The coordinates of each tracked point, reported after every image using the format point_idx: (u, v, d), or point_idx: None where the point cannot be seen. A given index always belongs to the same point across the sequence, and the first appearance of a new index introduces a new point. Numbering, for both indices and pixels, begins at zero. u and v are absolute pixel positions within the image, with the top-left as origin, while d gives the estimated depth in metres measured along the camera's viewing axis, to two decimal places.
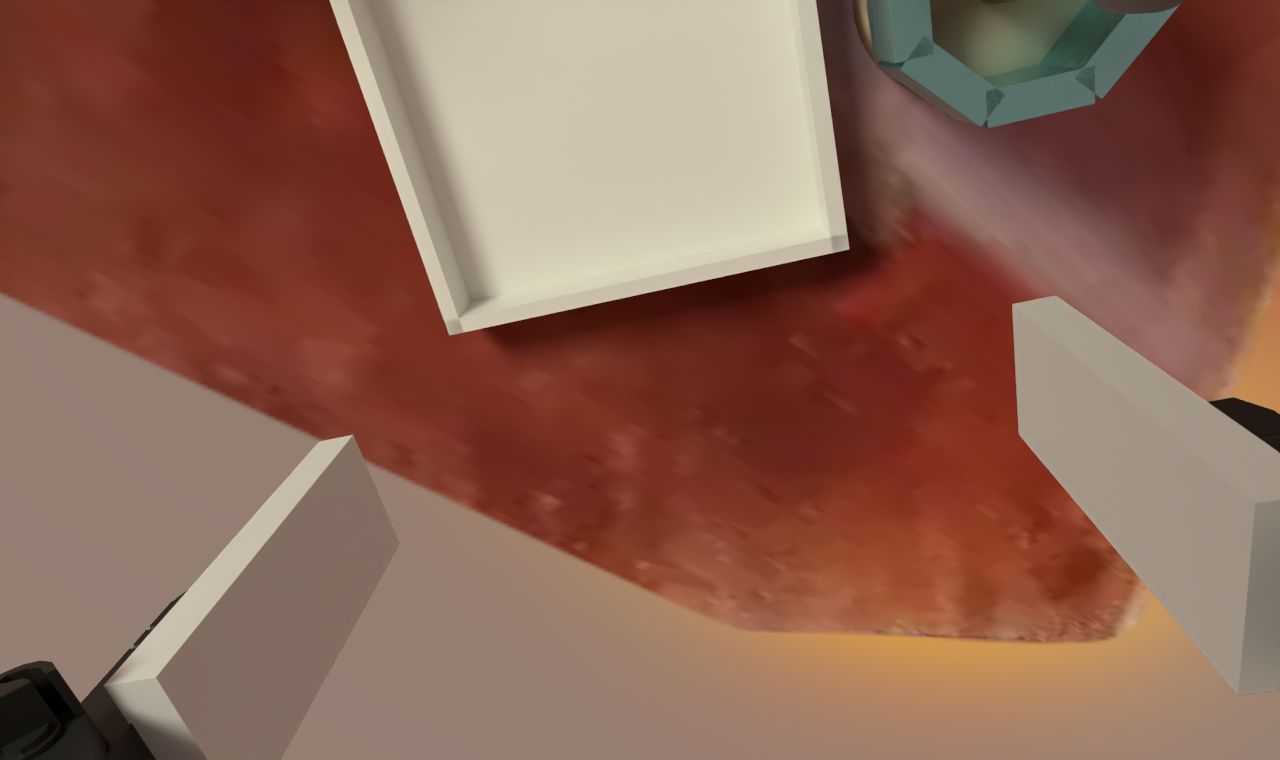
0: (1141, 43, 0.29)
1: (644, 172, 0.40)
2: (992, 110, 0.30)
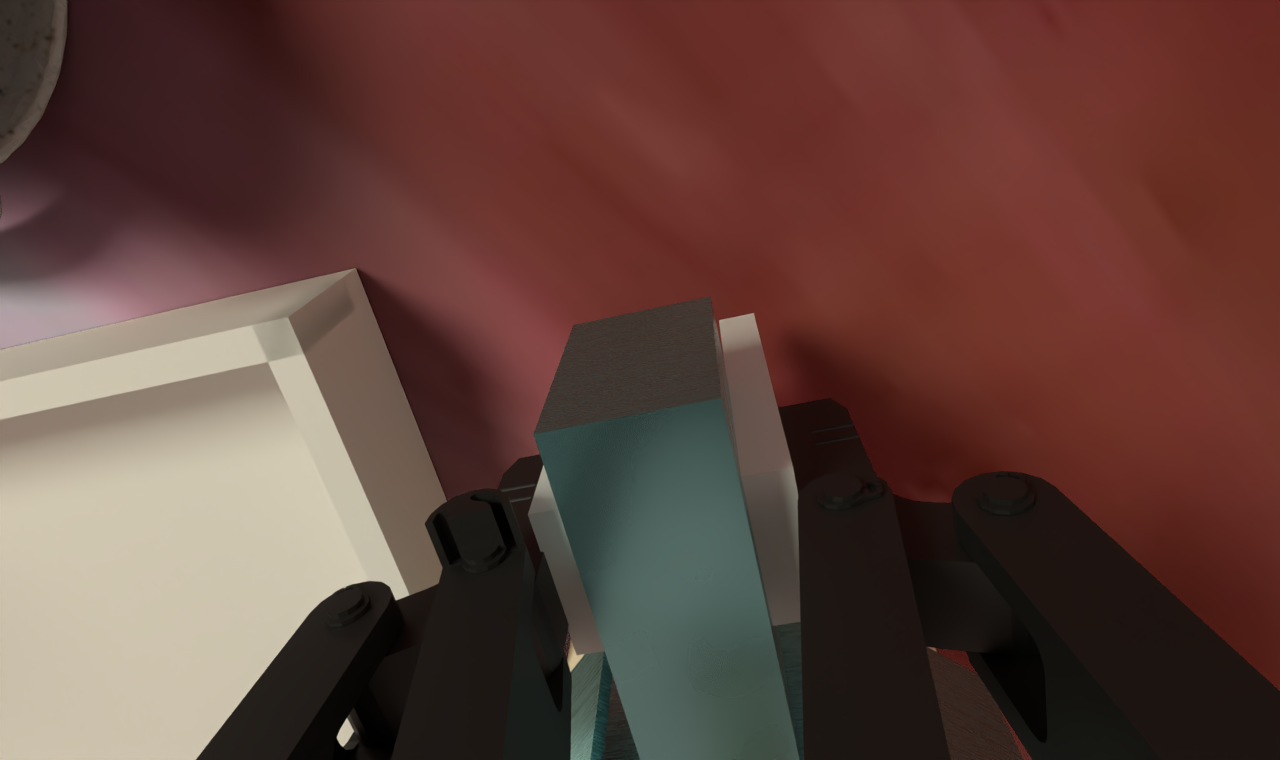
0: None
1: None
2: None
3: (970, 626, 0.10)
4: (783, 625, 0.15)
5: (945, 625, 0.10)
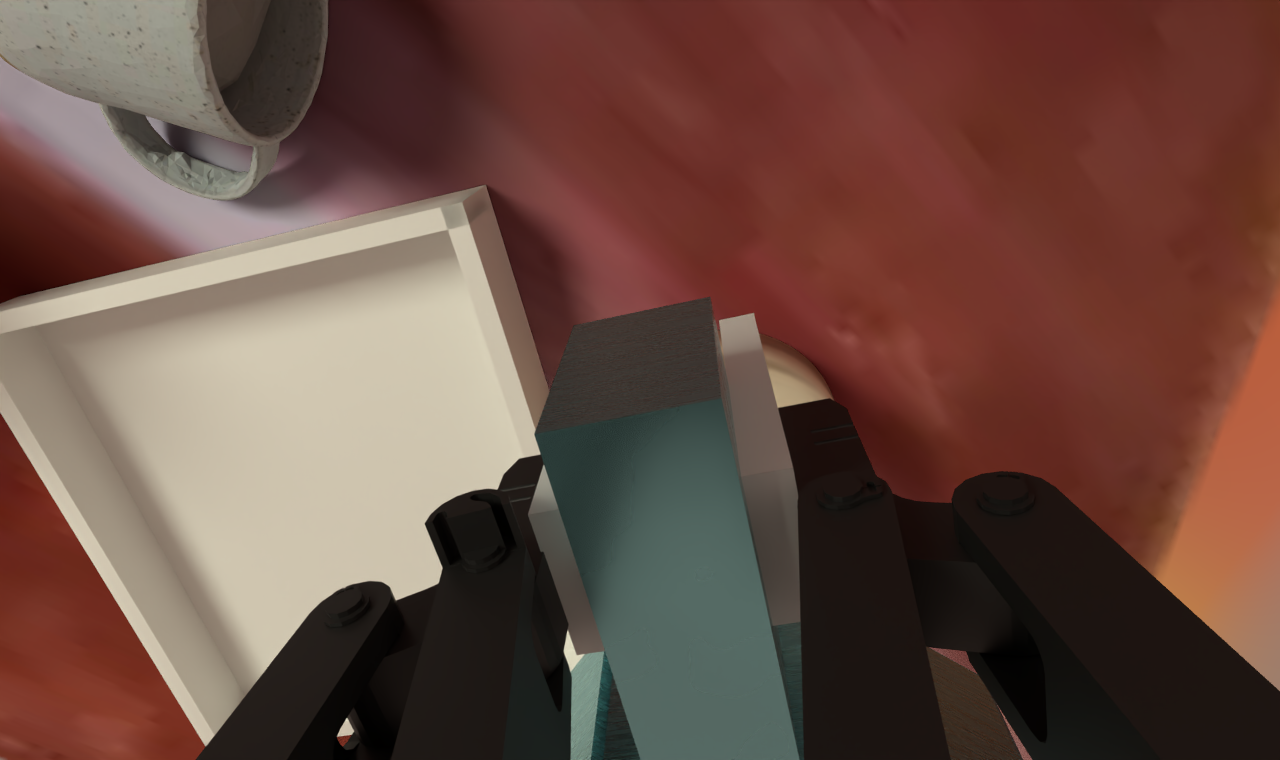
0: None
1: None
2: None
3: (970, 626, 0.10)
4: (783, 625, 0.15)
5: (944, 624, 0.10)
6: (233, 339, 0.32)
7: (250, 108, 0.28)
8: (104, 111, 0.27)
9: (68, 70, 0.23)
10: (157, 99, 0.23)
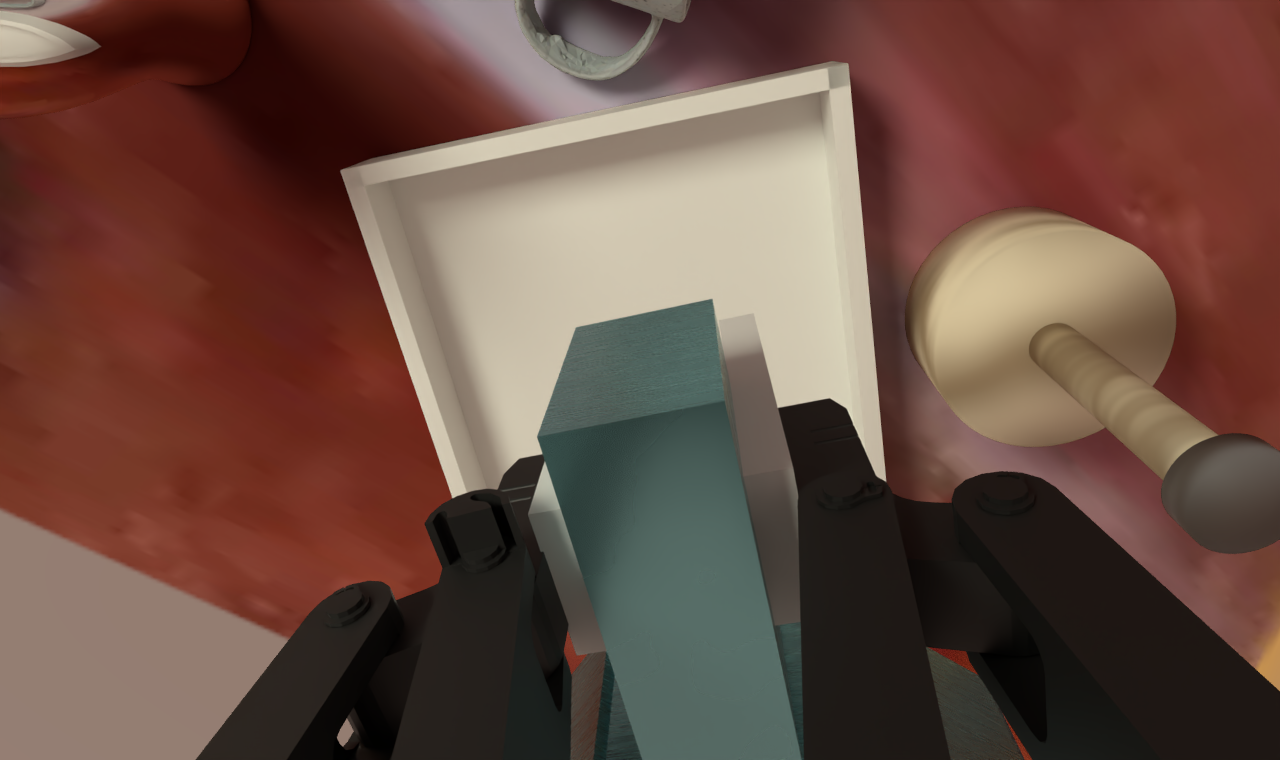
0: None
1: None
2: None
3: (970, 626, 0.10)
4: (785, 627, 0.15)
5: (944, 624, 0.10)
6: (574, 202, 0.35)
7: None
8: None
9: None
10: None
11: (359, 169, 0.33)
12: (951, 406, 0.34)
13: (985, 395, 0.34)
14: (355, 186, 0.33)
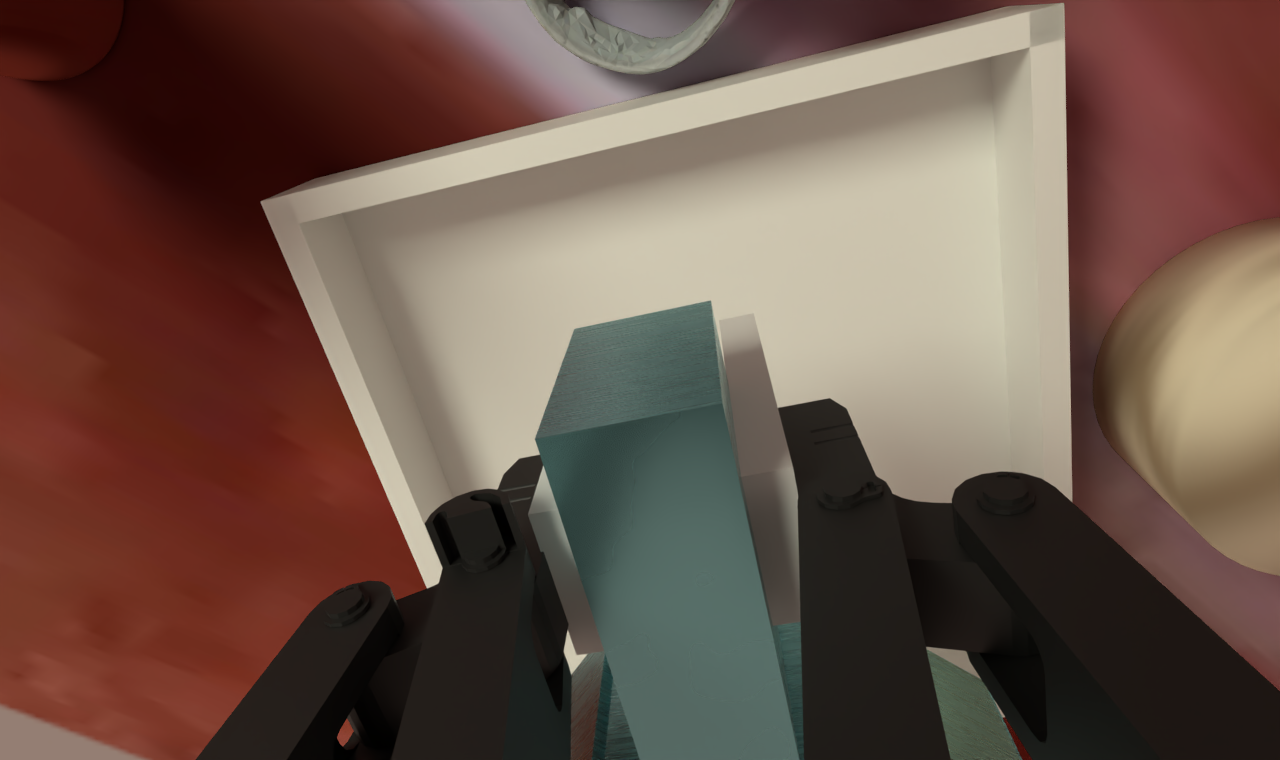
0: None
1: None
2: None
3: (970, 626, 0.10)
4: (783, 628, 0.15)
5: (944, 624, 0.10)
6: (615, 232, 0.24)
7: None
8: None
9: None
10: None
11: (288, 198, 0.21)
12: (1196, 524, 0.22)
13: (1251, 509, 0.22)
14: (285, 225, 0.22)
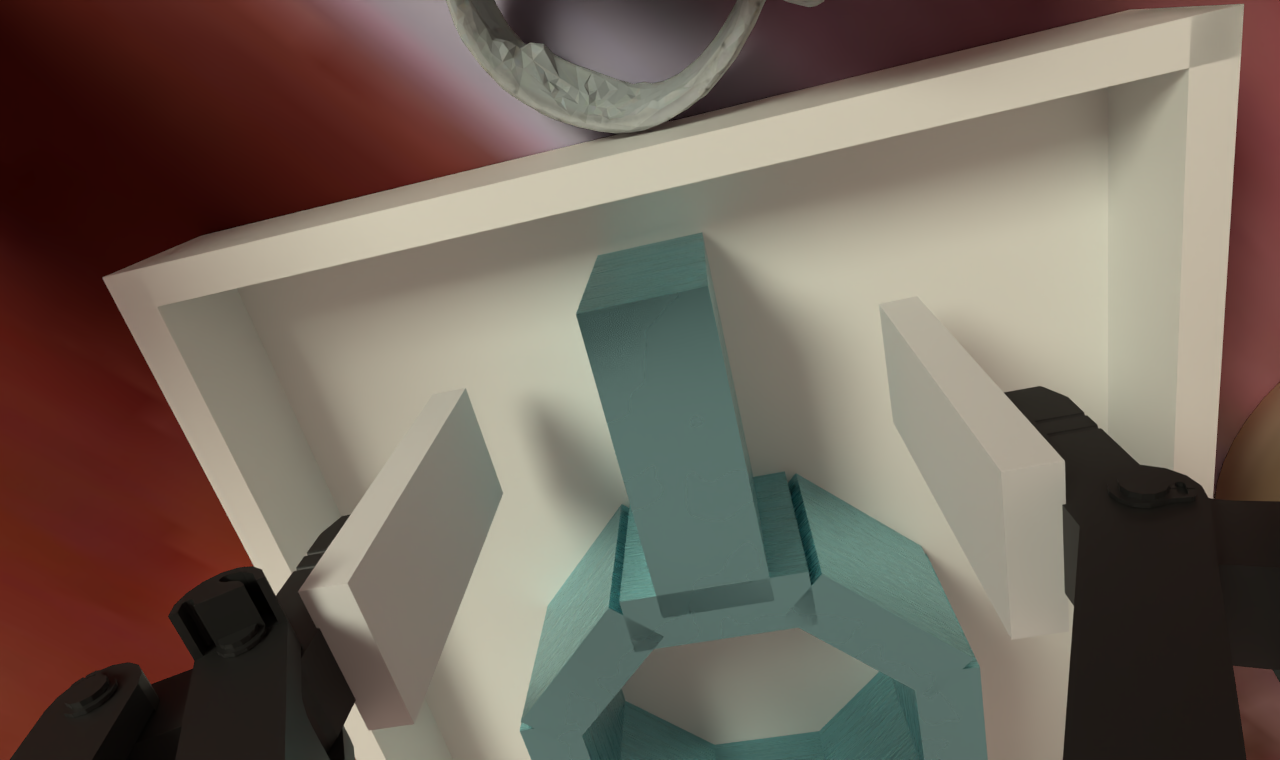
0: None
1: (808, 726, 0.23)
2: None
3: None
4: (760, 495, 0.19)
5: (1274, 641, 0.08)
6: None
7: None
8: None
9: None
10: None
11: (140, 274, 0.15)
12: None
13: None
14: (139, 308, 0.16)
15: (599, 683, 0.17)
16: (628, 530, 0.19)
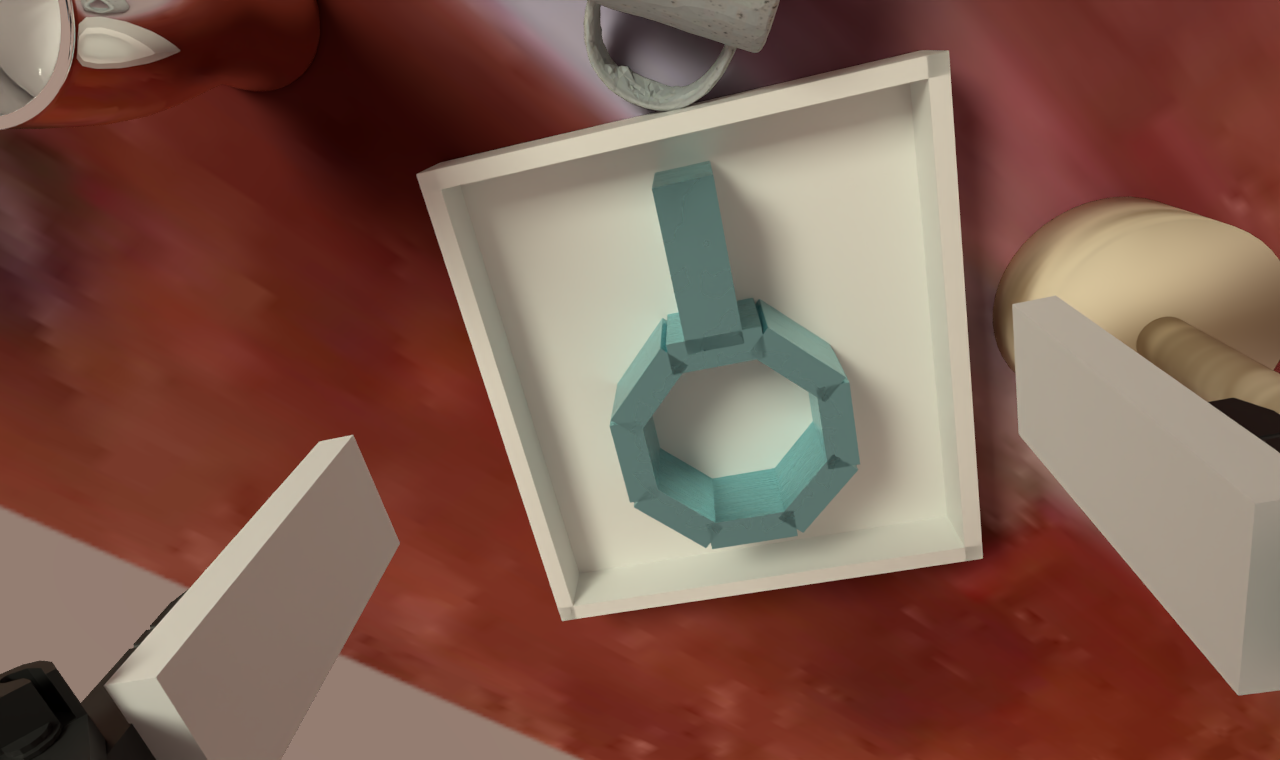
0: (829, 496, 0.35)
1: (768, 464, 0.39)
2: (714, 535, 0.36)
3: None
4: (739, 306, 0.35)
5: None
6: (652, 202, 0.34)
7: None
8: (588, 21, 0.30)
9: None
10: None
11: (435, 172, 0.31)
12: None
13: None
14: (431, 190, 0.32)
15: (653, 394, 0.33)
16: (668, 324, 0.35)
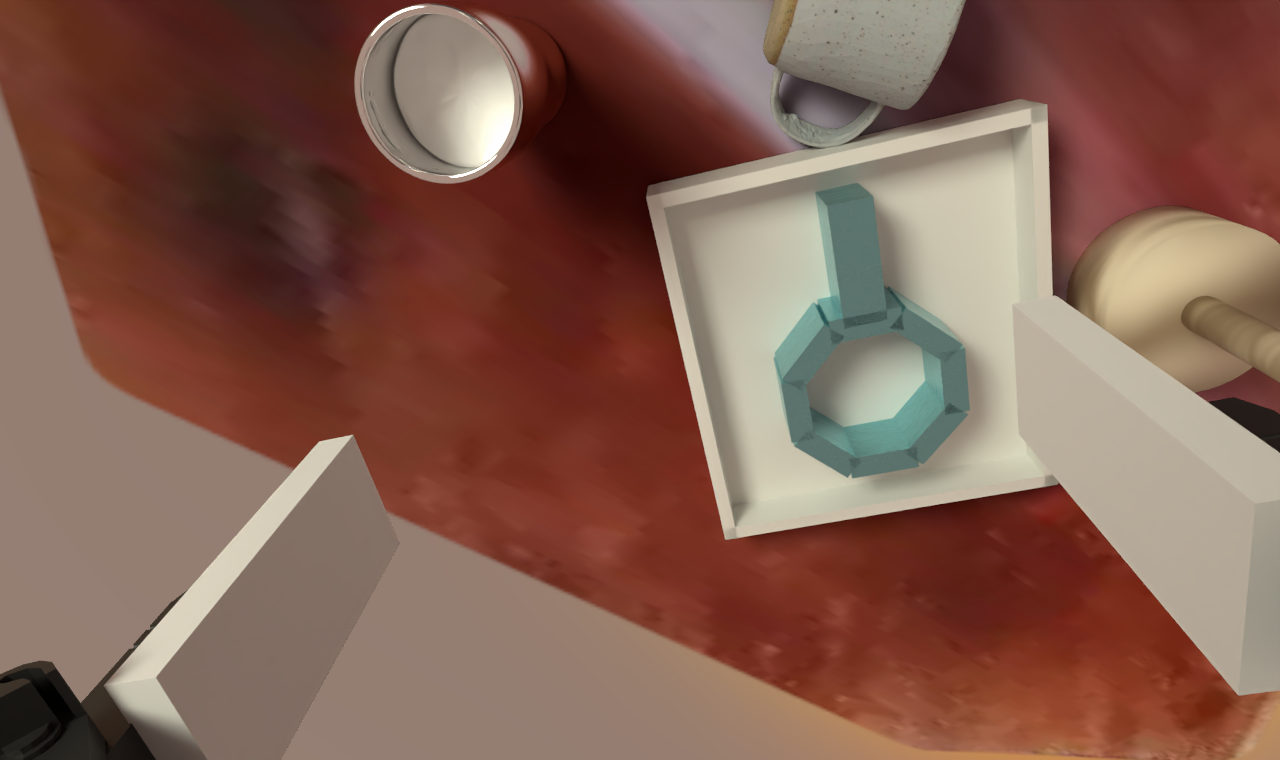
0: (945, 435, 0.46)
1: (888, 415, 0.50)
2: (854, 468, 0.47)
3: None
4: None
5: None
6: (811, 214, 0.45)
7: None
8: (776, 84, 0.41)
9: (834, 57, 0.37)
10: (886, 76, 0.37)
11: (660, 195, 0.42)
12: None
13: (1145, 354, 0.43)
14: (656, 208, 0.43)
15: (816, 359, 0.45)
16: (821, 306, 0.46)
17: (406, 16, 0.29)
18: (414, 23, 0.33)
